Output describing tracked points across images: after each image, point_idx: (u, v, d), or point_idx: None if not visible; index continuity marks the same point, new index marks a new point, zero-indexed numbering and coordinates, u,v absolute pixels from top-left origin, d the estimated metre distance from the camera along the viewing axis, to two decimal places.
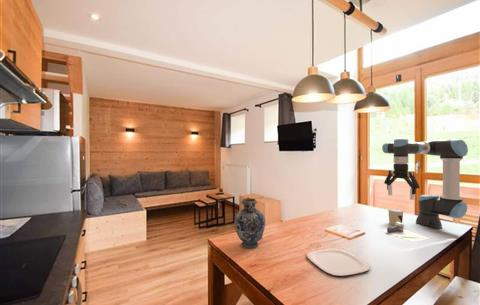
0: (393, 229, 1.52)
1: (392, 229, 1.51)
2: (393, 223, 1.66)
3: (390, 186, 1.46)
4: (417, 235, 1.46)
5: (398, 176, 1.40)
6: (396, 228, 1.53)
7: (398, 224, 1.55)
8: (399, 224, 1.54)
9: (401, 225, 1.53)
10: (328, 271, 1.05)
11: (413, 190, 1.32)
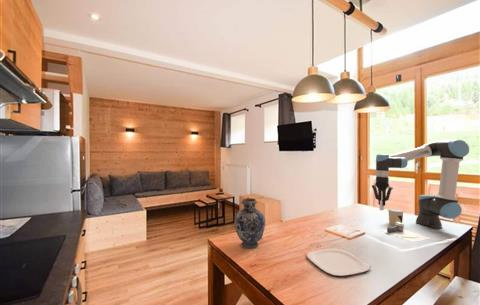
0: (393, 229, 1.52)
1: (392, 229, 1.51)
2: (393, 223, 1.66)
3: None
4: (417, 235, 1.46)
5: (380, 188, 1.56)
6: (396, 228, 1.53)
7: (398, 224, 1.55)
8: (399, 224, 1.54)
9: (401, 225, 1.53)
10: (328, 271, 1.05)
11: (383, 202, 1.55)
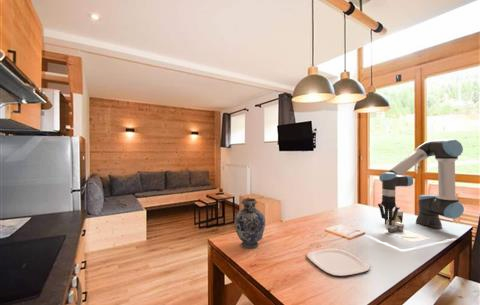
0: (394, 229, 1.51)
1: (393, 229, 1.51)
2: (393, 223, 1.66)
3: None
4: (417, 235, 1.46)
5: (386, 207, 1.52)
6: (396, 228, 1.52)
7: (398, 224, 1.55)
8: (399, 224, 1.54)
9: (401, 225, 1.53)
10: (328, 271, 1.05)
11: (390, 222, 1.51)
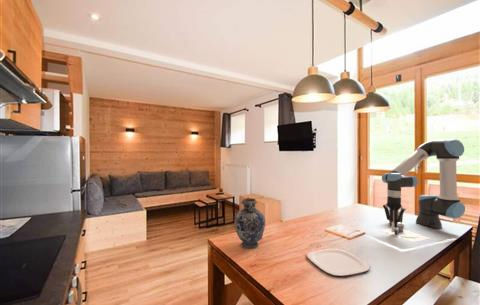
0: (398, 230, 1.49)
1: (398, 230, 1.49)
2: None
3: None
4: (417, 235, 1.46)
5: (392, 208, 1.49)
6: (399, 229, 1.51)
7: (398, 224, 1.54)
8: (400, 224, 1.54)
9: (402, 225, 1.53)
10: (328, 271, 1.05)
11: (395, 223, 1.47)
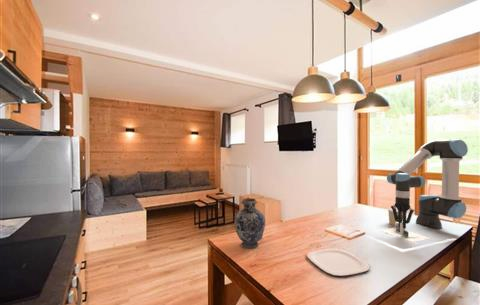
0: None
1: None
2: (393, 223, 1.66)
3: None
4: (417, 235, 1.46)
5: (400, 209, 1.46)
6: None
7: None
8: None
9: None
10: (328, 271, 1.05)
11: (404, 225, 1.45)
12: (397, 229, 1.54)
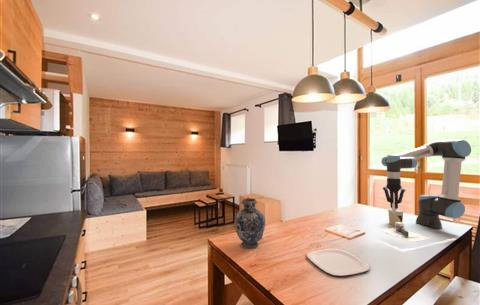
0: None
1: None
2: (393, 223, 1.66)
3: None
4: (417, 235, 1.46)
5: (392, 190, 1.49)
6: None
7: (399, 224, 1.54)
8: (400, 224, 1.54)
9: (402, 225, 1.54)
10: (328, 271, 1.05)
11: (396, 205, 1.48)
12: (397, 229, 1.54)
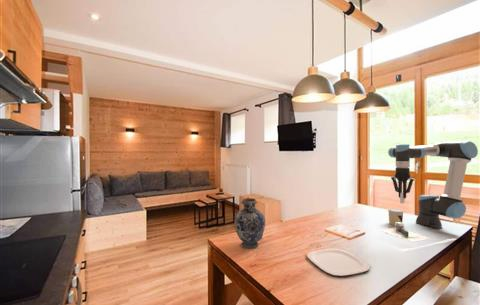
0: None
1: None
2: (393, 223, 1.66)
3: None
4: (417, 235, 1.46)
5: (400, 179, 1.48)
6: None
7: (399, 224, 1.54)
8: (400, 224, 1.54)
9: (402, 225, 1.54)
10: (328, 271, 1.05)
11: (404, 194, 1.47)
12: (397, 229, 1.54)
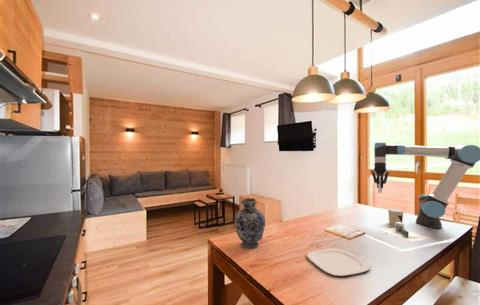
0: None
1: None
2: (393, 223, 1.66)
3: None
4: (417, 235, 1.46)
5: (378, 172, 1.74)
6: None
7: (399, 224, 1.54)
8: (400, 224, 1.54)
9: (402, 225, 1.54)
10: (328, 271, 1.05)
11: (381, 185, 1.72)
12: (397, 229, 1.54)
